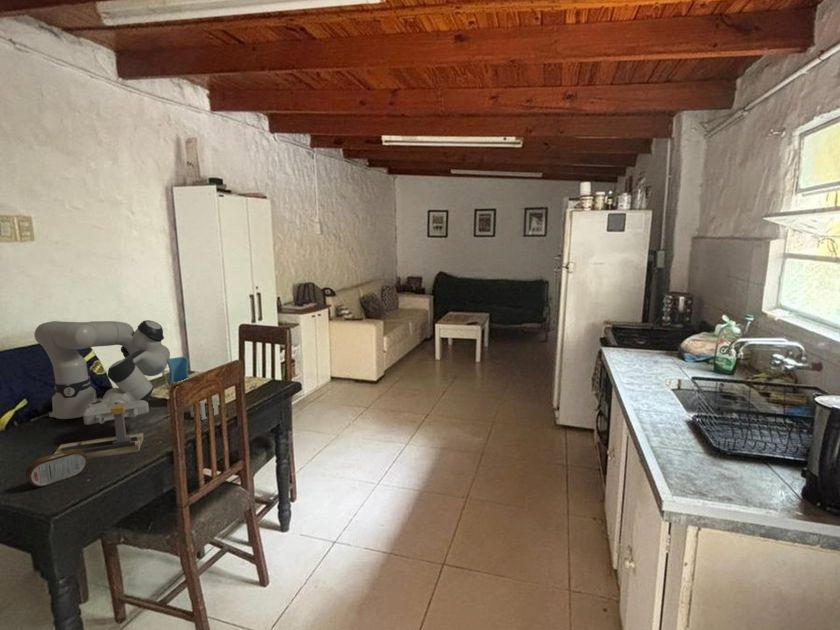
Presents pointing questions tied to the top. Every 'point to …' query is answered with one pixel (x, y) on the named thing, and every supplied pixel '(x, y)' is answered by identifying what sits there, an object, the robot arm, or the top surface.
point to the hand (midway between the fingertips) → (117, 418)
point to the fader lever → (119, 424)
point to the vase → (177, 369)
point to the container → (203, 408)
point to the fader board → (104, 446)
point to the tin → (56, 467)
